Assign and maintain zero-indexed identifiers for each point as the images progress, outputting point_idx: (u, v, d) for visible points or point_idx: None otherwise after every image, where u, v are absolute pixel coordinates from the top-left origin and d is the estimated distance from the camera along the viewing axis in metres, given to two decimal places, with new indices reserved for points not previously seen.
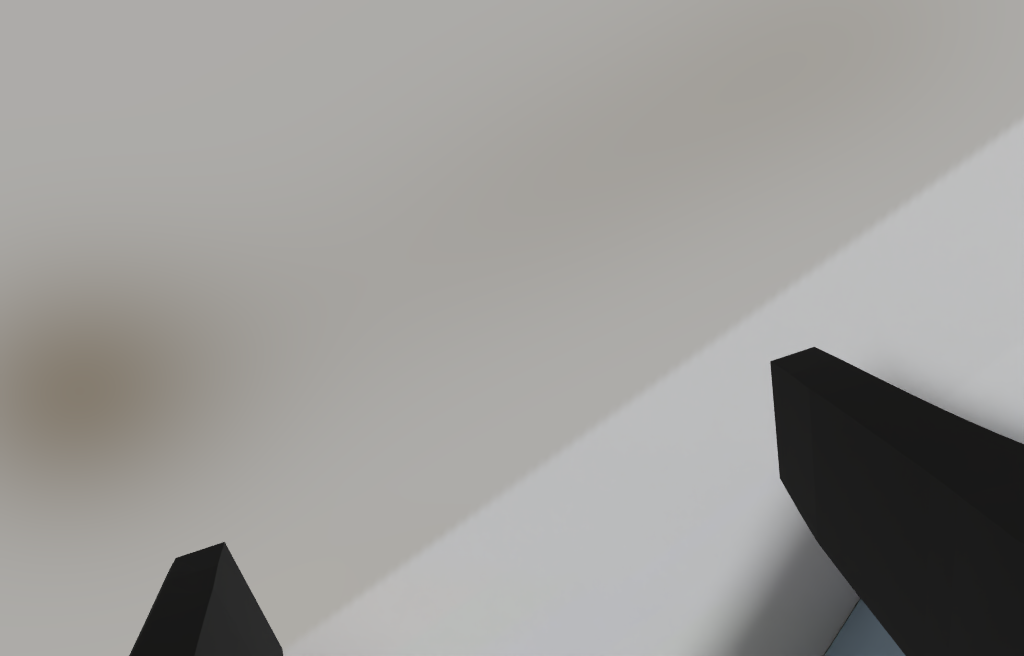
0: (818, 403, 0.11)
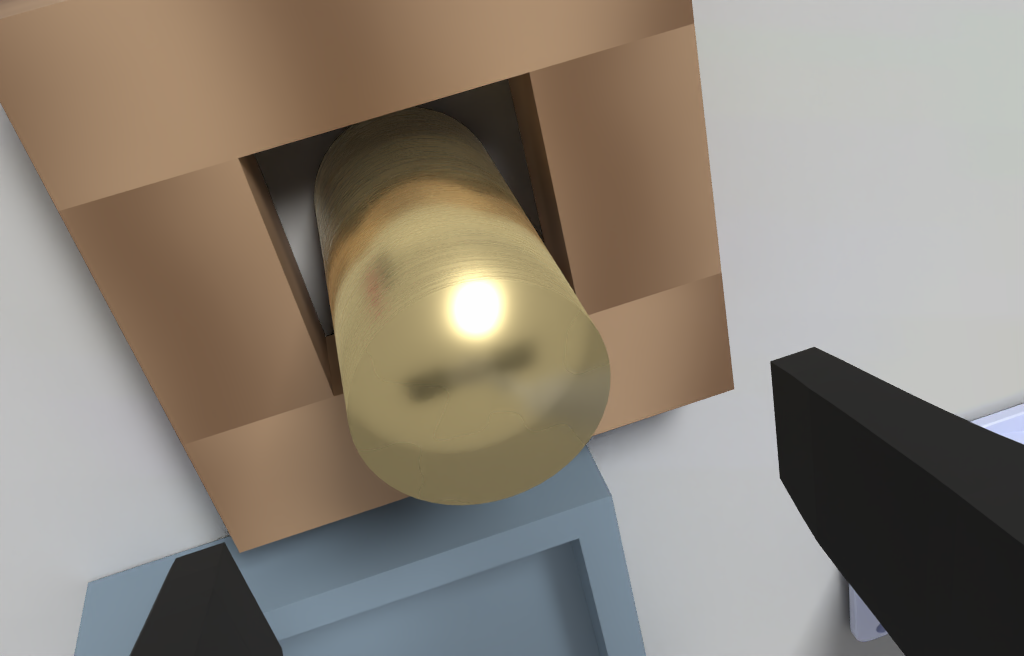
0: (818, 403, 0.11)
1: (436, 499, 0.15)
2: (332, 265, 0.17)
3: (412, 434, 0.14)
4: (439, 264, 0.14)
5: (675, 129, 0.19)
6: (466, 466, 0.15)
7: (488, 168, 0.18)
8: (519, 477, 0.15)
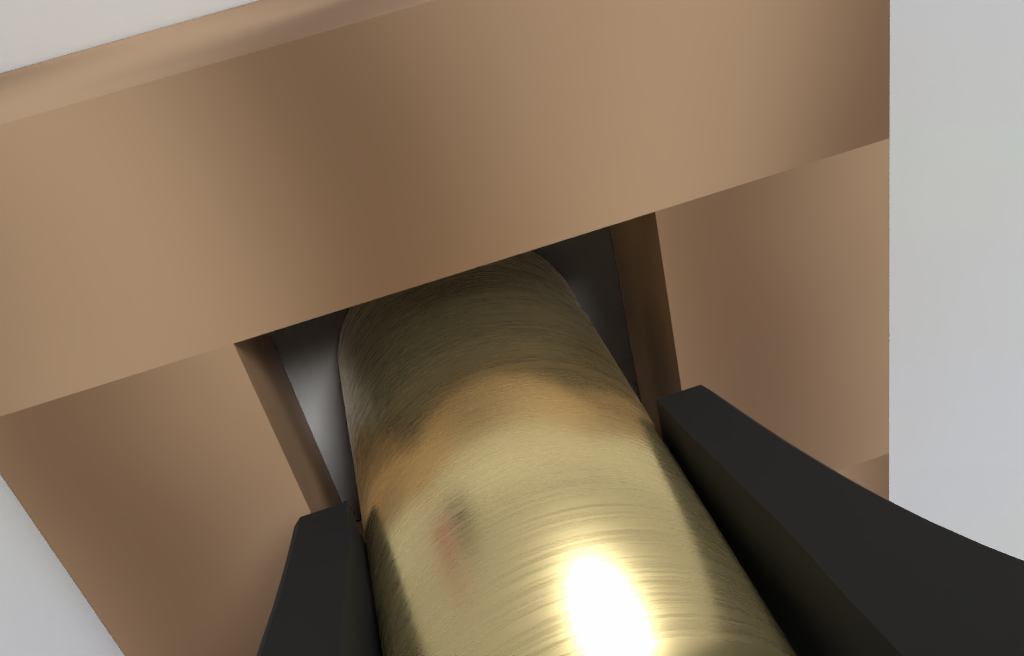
0: (693, 445, 0.11)
1: None
2: (373, 512, 0.11)
3: None
4: (563, 593, 0.08)
5: (848, 278, 0.13)
6: None
7: (591, 342, 0.13)
8: None
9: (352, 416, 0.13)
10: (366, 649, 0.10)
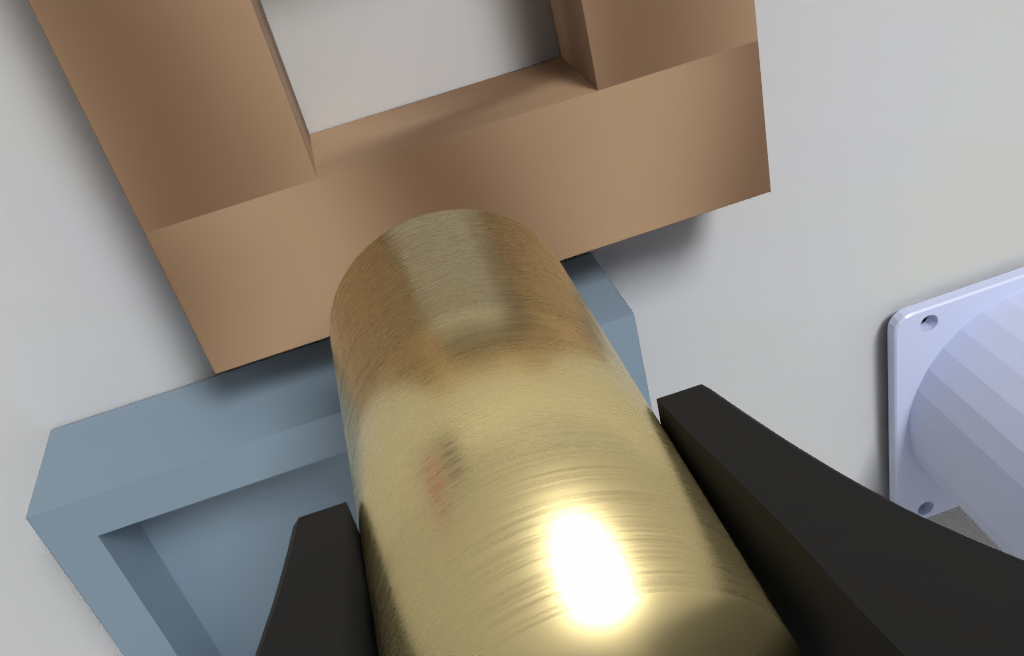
0: (694, 445, 0.11)
1: None
2: (365, 473, 0.11)
3: None
4: (555, 549, 0.08)
5: None
6: None
7: (583, 315, 0.13)
8: None
9: (344, 382, 0.13)
10: (364, 650, 0.10)
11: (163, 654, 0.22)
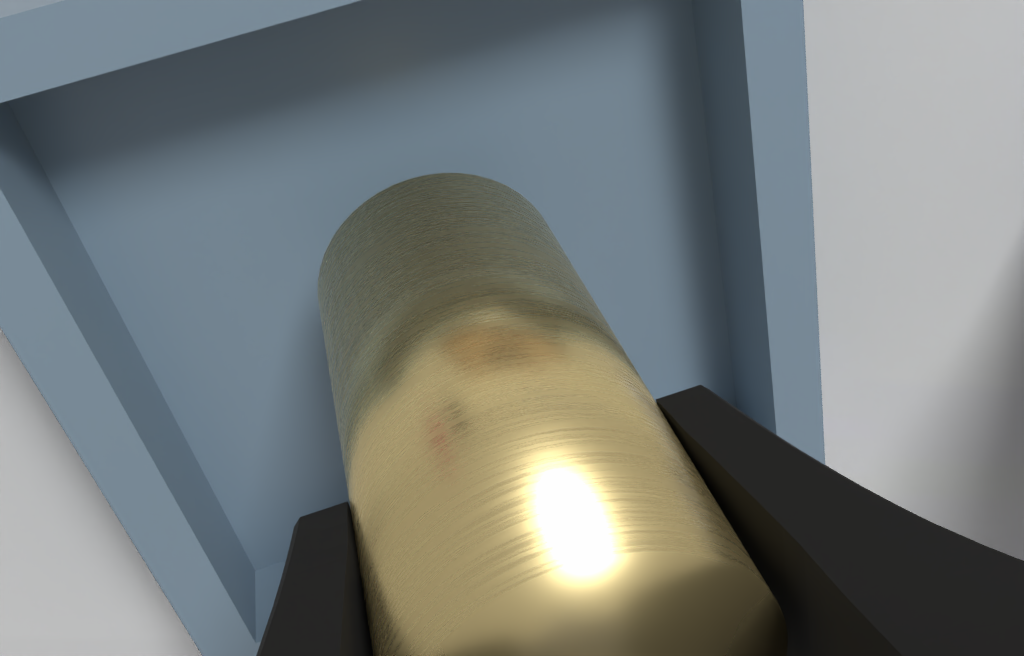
0: (693, 445, 0.11)
1: None
2: (359, 423, 0.11)
3: None
4: (562, 502, 0.09)
5: None
6: None
7: (580, 286, 0.13)
8: None
9: (336, 333, 0.13)
10: (365, 649, 0.10)
11: (72, 350, 0.15)
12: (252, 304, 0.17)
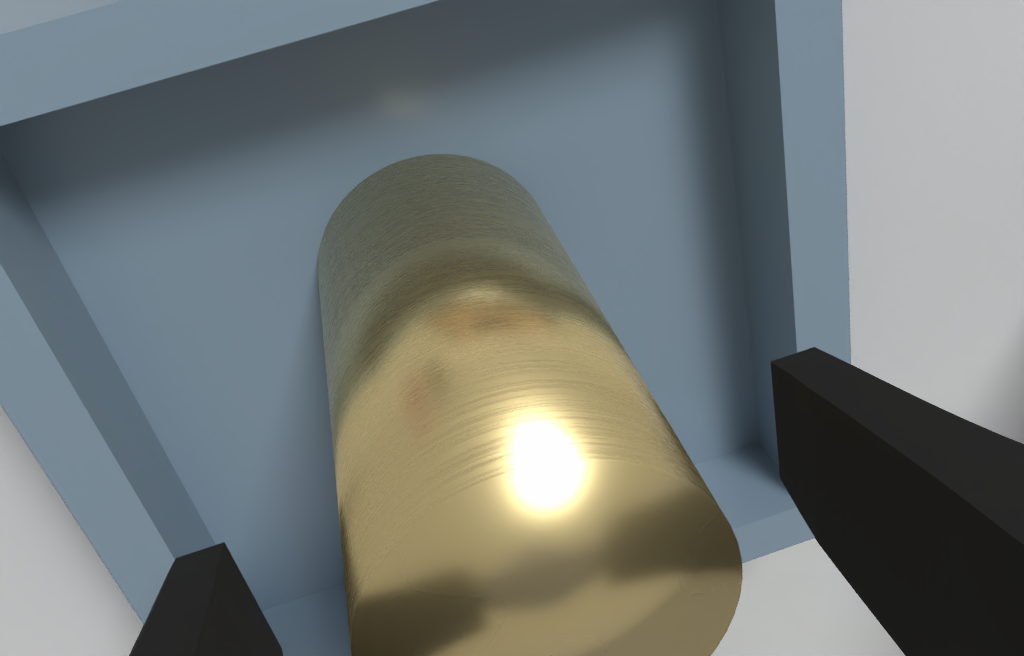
0: (818, 403, 0.11)
1: None
2: (342, 370, 0.12)
3: None
4: (518, 419, 0.09)
5: None
6: None
7: (562, 253, 0.14)
8: None
9: (329, 298, 0.14)
10: None
11: (56, 394, 0.14)
12: (251, 338, 0.16)
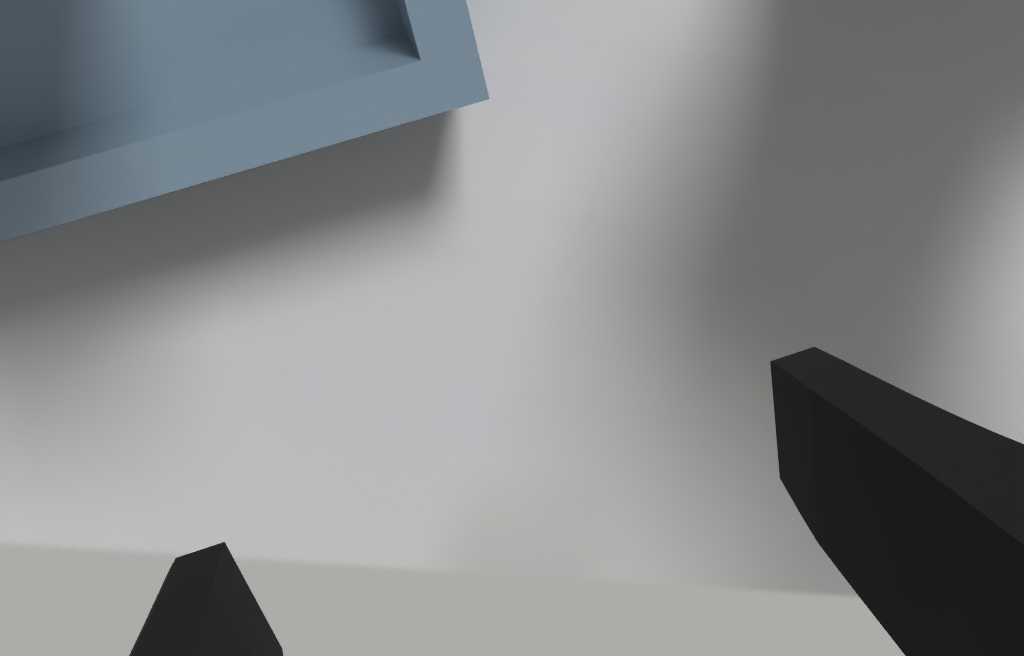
0: (818, 403, 0.11)
1: None
2: None
3: None
4: None
5: None
6: None
7: None
8: None
9: None
10: None
11: None
12: None
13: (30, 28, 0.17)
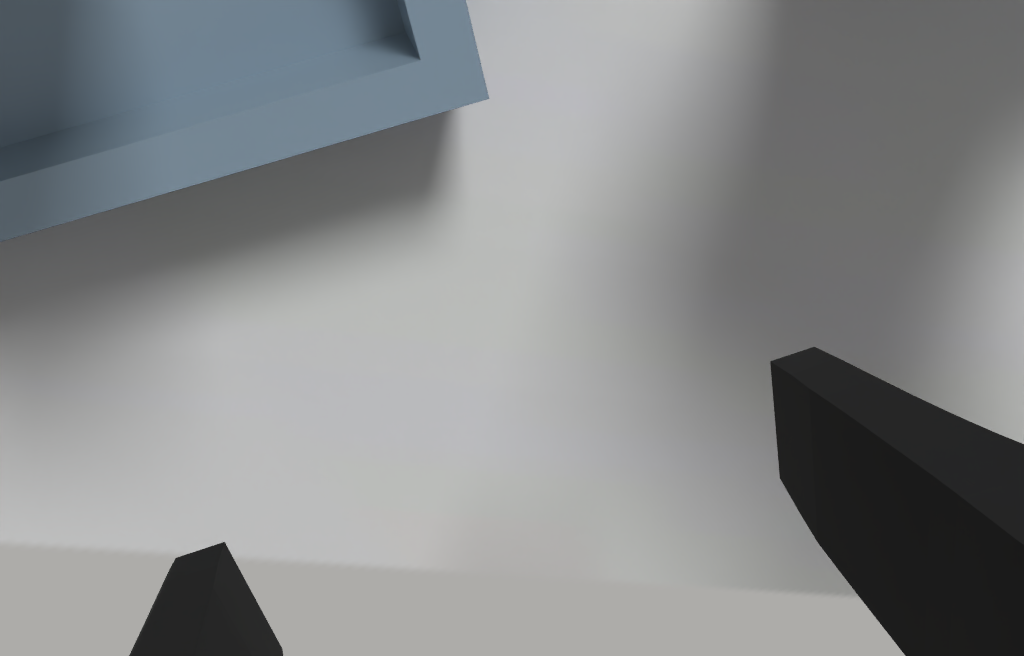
0: (818, 403, 0.11)
1: None
2: None
3: None
4: None
5: None
6: None
7: None
8: None
9: None
10: None
11: None
12: None
13: (30, 28, 0.17)
